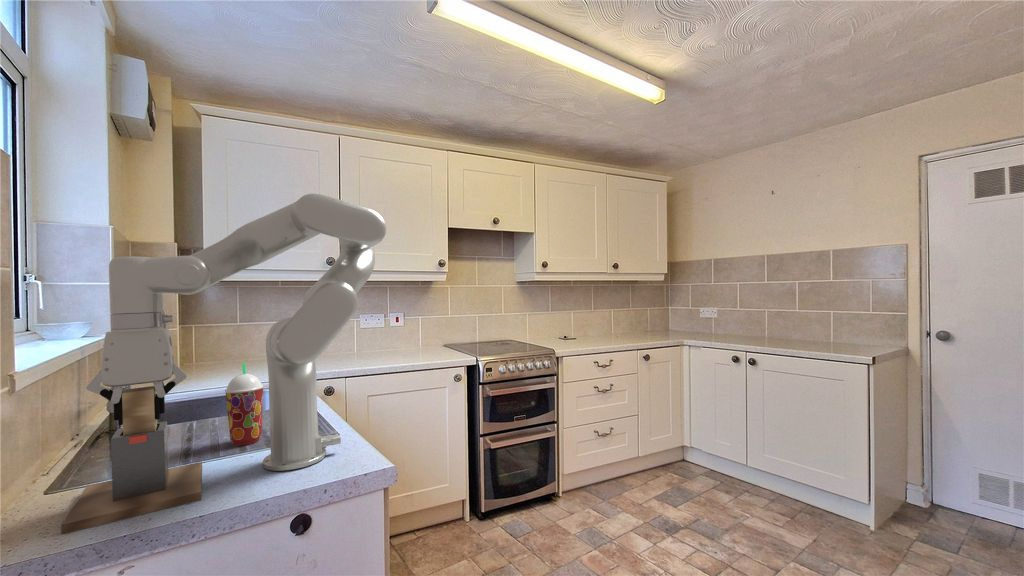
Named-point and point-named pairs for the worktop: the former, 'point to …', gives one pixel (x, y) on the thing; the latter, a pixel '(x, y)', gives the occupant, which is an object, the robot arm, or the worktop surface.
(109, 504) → the base board
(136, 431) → the post
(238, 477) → the worktop surface
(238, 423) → the smoothie
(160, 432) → the sleeve
